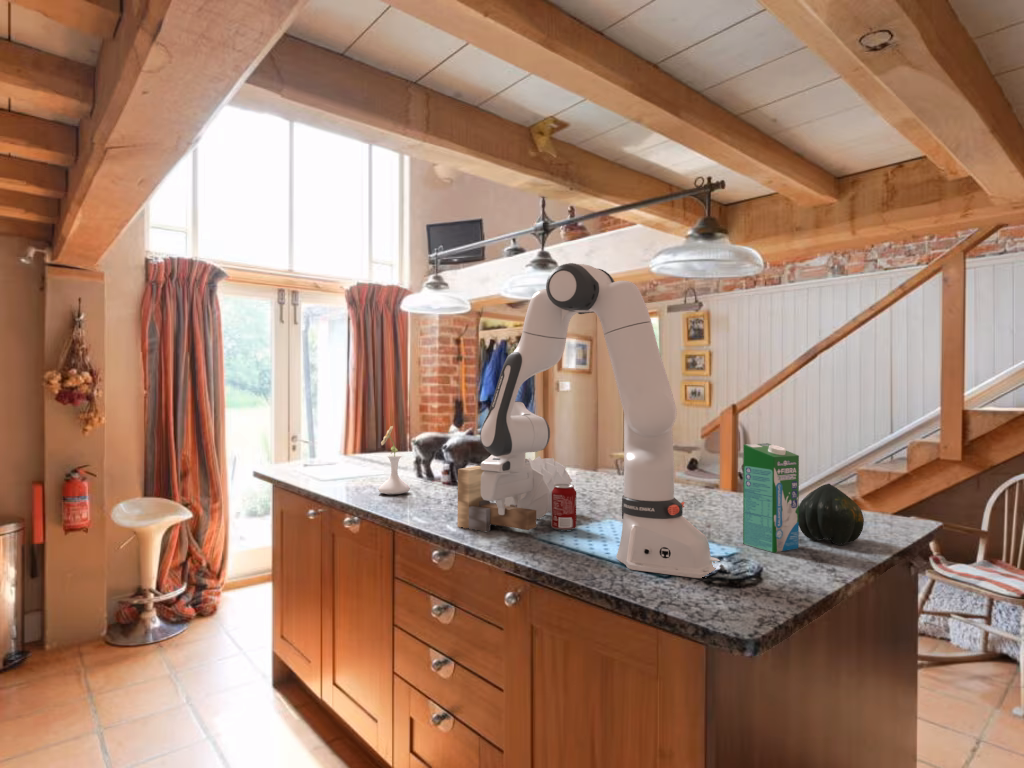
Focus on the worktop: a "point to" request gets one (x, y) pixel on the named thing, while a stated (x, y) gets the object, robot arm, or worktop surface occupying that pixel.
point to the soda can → (563, 507)
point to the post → (472, 500)
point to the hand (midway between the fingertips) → (508, 512)
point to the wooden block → (511, 516)
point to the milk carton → (770, 498)
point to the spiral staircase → (542, 485)
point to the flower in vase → (393, 473)
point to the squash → (830, 516)
